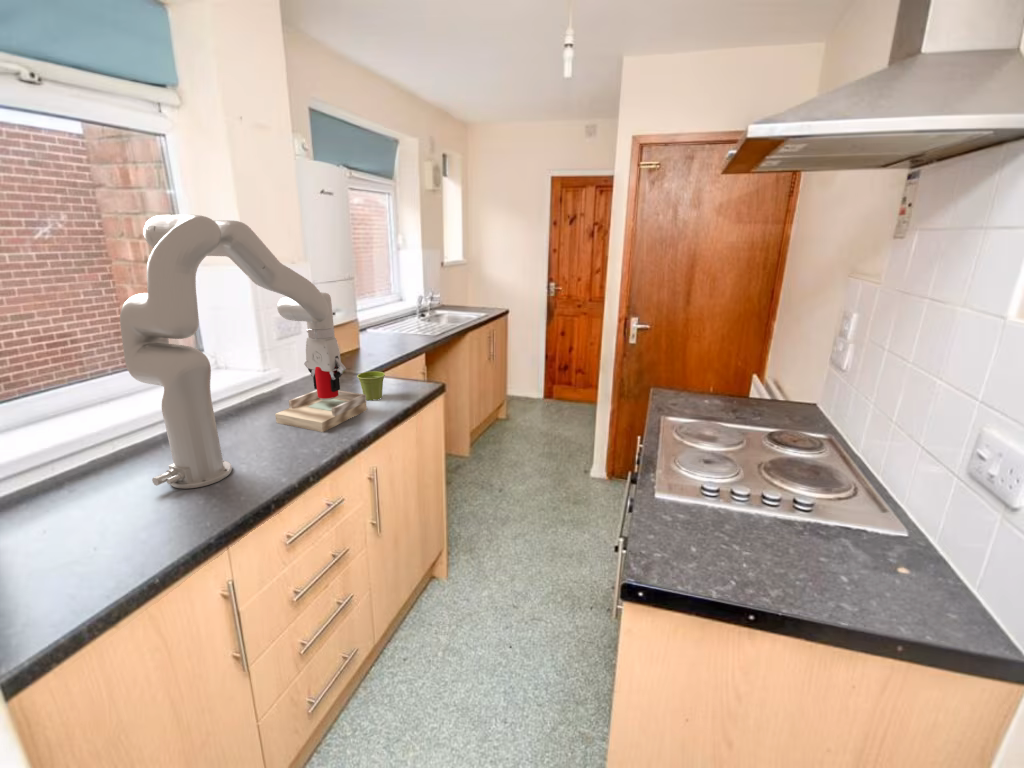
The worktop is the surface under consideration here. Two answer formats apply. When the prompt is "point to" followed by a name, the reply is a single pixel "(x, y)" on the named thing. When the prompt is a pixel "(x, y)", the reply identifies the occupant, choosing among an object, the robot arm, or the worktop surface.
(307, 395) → the dock
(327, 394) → the beverage can
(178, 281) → the robot arm
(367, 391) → the plant pot
